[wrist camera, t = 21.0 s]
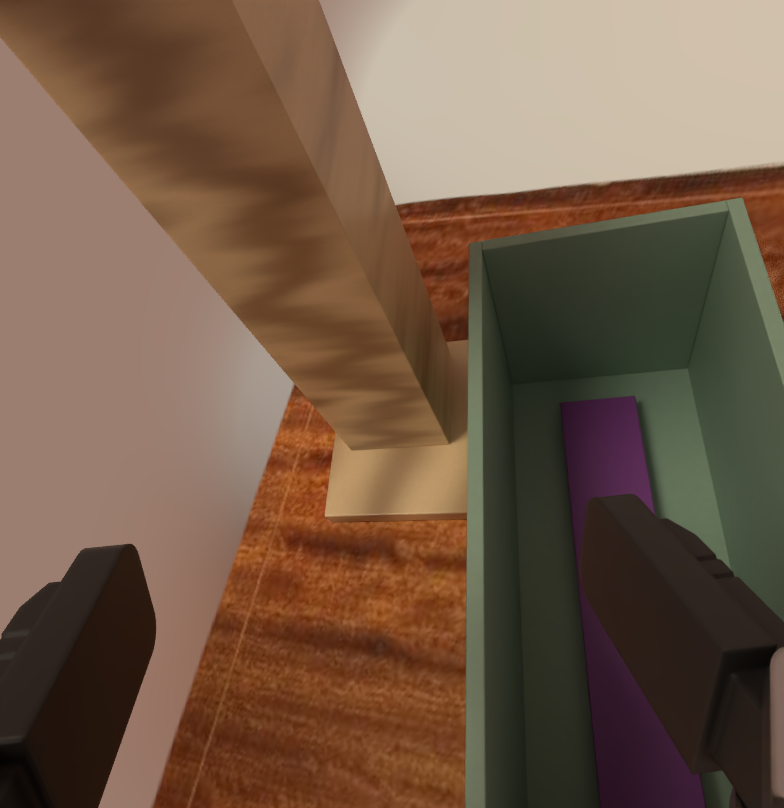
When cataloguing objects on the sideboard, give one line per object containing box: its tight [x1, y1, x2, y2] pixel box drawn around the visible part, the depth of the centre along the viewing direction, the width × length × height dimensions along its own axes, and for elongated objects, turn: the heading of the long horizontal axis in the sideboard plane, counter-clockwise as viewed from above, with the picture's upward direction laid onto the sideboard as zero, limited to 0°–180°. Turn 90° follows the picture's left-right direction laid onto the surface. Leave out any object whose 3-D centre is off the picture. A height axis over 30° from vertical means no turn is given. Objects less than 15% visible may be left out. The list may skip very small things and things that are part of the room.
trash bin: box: [465, 198, 784, 808], centre depth 24 cm, size 11×25×13 cm, turn 176°
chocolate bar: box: [560, 396, 706, 808], centre depth 28 cm, size 20×4×1 cm, turn 176°
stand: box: [0, 0, 468, 522], centre depth 24 cm, size 9×12×32 cm
